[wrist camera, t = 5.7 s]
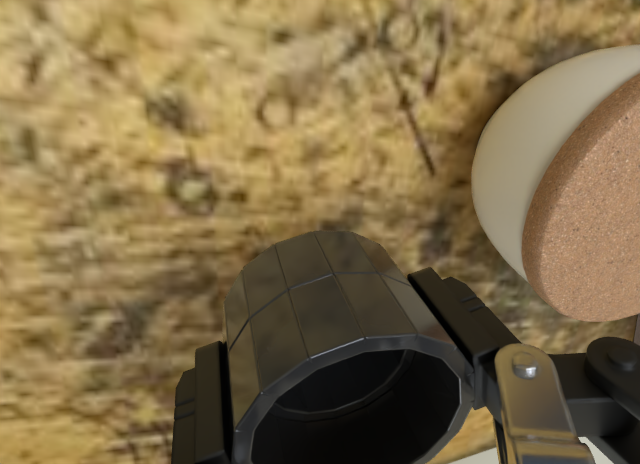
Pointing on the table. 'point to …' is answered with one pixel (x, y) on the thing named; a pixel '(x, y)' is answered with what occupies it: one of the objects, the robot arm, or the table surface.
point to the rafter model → (637, 331)
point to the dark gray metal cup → (337, 359)
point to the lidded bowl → (568, 183)
